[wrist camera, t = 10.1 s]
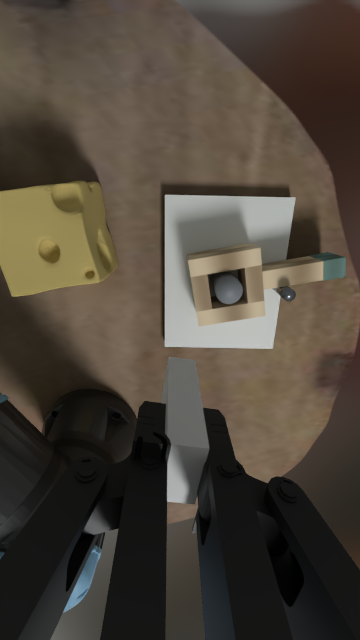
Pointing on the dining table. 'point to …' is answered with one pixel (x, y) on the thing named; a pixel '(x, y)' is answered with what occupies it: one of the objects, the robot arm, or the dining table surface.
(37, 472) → the robot arm
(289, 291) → the dowel
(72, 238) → the cheese
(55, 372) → the dining table surface
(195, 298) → the wooden frame with handle
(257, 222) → the base
